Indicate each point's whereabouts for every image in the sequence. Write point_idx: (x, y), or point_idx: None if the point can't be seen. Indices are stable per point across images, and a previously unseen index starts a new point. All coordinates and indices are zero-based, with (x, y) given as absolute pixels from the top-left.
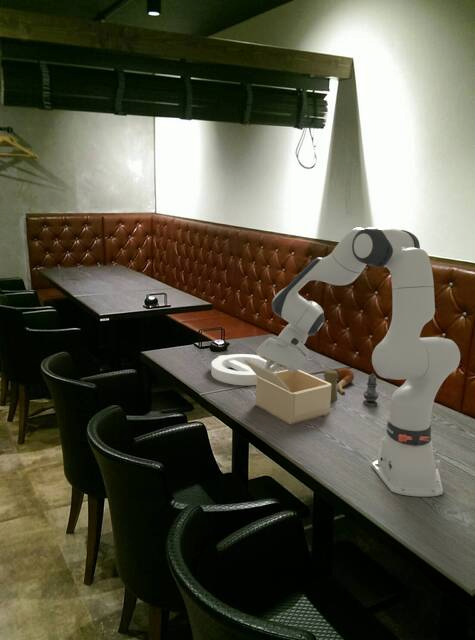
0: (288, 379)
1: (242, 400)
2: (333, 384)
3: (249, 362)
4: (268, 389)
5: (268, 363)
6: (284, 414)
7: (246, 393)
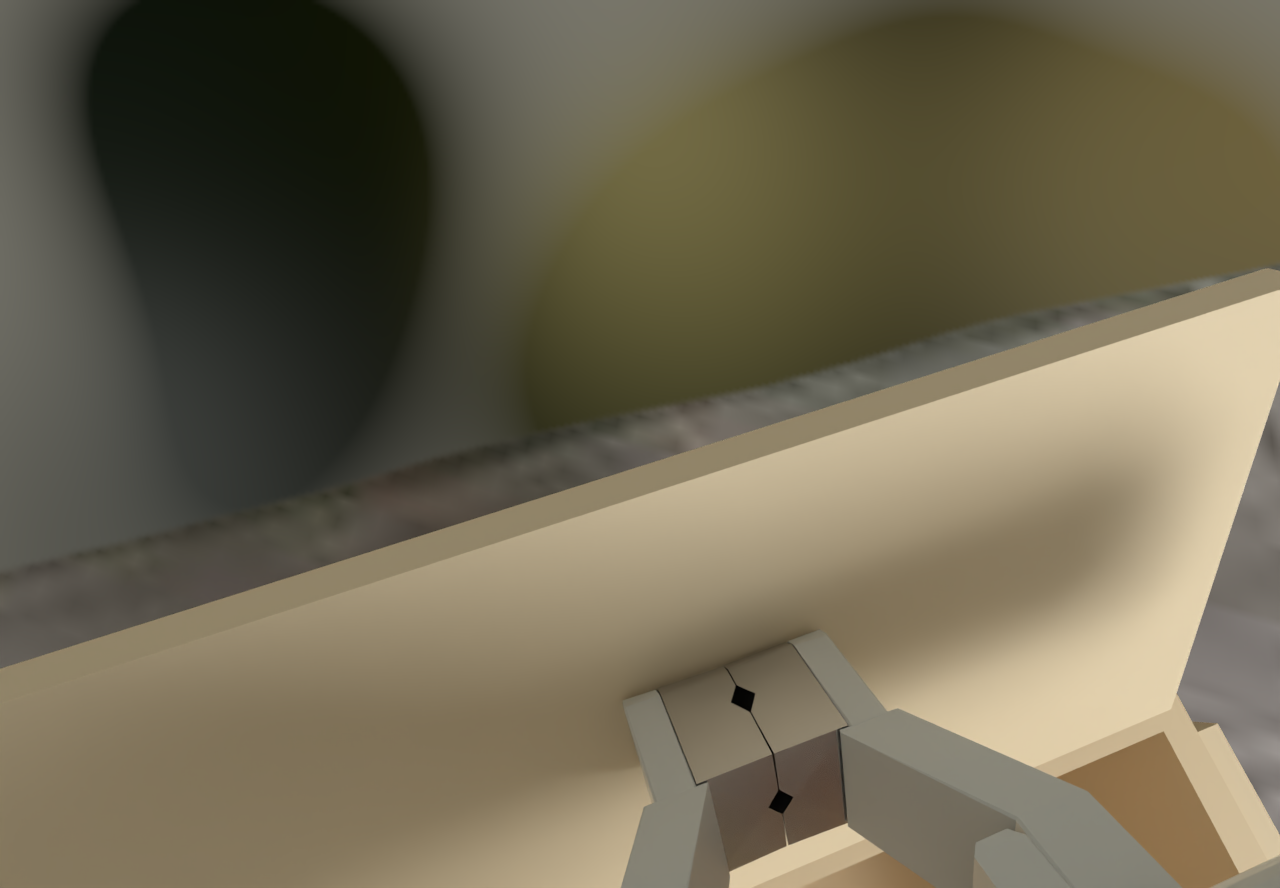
0: None
1: None
2: None
3: (1119, 325)
4: None
5: (1003, 850)
6: None
7: (1240, 678)
